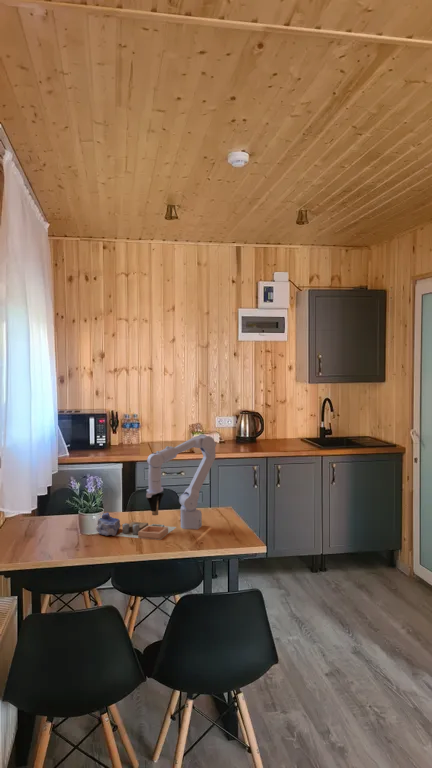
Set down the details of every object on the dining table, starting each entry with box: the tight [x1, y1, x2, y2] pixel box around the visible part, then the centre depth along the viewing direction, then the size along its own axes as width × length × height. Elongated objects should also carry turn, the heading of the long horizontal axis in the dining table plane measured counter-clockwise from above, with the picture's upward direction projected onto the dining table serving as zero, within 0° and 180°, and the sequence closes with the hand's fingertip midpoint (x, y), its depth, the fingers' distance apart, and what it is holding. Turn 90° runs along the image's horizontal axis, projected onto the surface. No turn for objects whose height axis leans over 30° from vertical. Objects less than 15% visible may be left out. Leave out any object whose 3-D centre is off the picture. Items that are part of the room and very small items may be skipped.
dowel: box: [151, 502, 159, 516], centre depth 253 cm, size 3×3×7 cm
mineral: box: [95, 512, 121, 537], centre depth 251 cm, size 14×10×10 cm
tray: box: [137, 526, 168, 540], centre depth 246 cm, size 10×10×2 cm
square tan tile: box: [128, 521, 149, 533], centre depth 254 cm, size 8×8×2 cm
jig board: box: [115, 522, 177, 541], centre depth 252 cm, size 21×20×5 cm
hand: (155, 510), depth 253 cm, fingers closed on dowel, 3 cm apart
